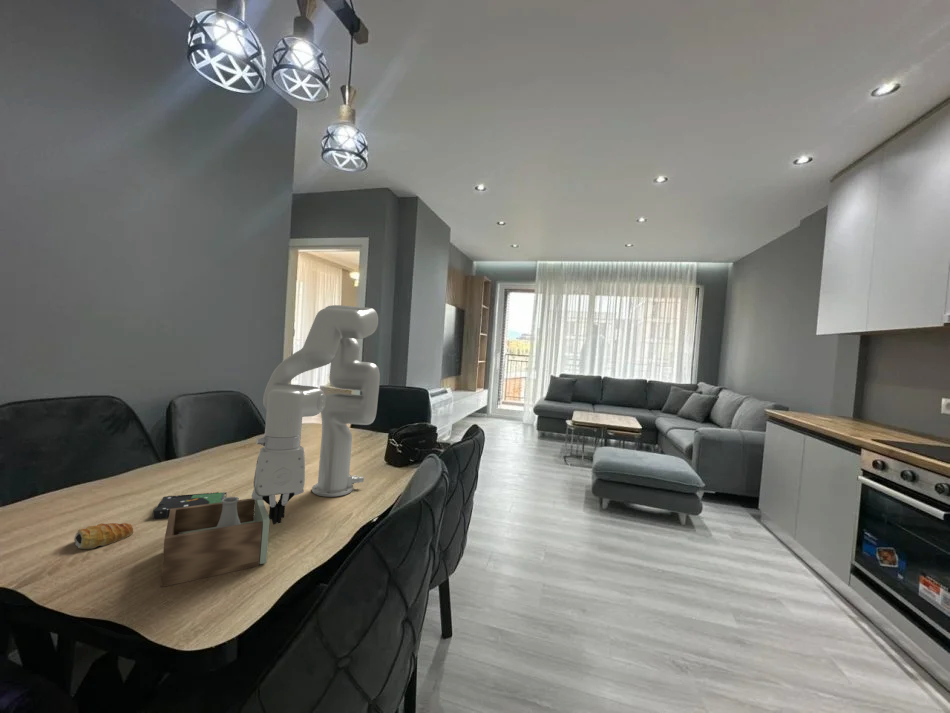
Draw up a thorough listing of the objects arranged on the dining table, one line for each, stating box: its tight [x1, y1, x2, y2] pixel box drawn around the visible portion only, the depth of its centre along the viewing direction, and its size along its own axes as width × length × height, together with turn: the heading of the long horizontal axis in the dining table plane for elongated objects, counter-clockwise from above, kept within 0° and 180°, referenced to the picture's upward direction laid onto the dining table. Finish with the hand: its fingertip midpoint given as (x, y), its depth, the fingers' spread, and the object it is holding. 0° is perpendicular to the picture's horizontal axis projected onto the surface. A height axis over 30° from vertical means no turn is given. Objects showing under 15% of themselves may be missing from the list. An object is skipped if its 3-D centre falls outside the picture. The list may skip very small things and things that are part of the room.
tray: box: [178, 500, 270, 565], centre depth 83 cm, size 16×15×9 cm
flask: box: [216, 496, 241, 528], centre depth 84 cm, size 7×7×10 cm
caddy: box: [160, 497, 262, 588], centre depth 82 cm, size 16×15×9 cm
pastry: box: [74, 522, 134, 550], centre depth 86 cm, size 9×7×4 cm
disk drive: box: [152, 491, 228, 520], centre depth 105 cm, size 10×3×15 cm
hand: (276, 521), depth 89 cm, fingers closed
